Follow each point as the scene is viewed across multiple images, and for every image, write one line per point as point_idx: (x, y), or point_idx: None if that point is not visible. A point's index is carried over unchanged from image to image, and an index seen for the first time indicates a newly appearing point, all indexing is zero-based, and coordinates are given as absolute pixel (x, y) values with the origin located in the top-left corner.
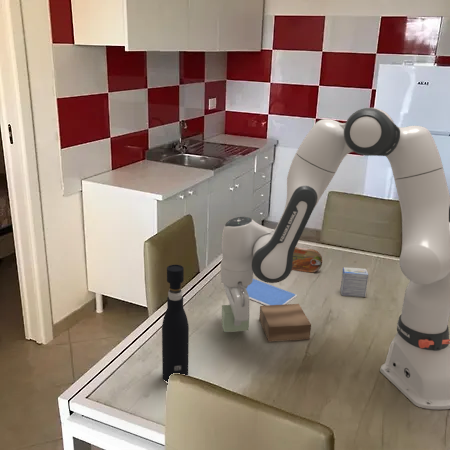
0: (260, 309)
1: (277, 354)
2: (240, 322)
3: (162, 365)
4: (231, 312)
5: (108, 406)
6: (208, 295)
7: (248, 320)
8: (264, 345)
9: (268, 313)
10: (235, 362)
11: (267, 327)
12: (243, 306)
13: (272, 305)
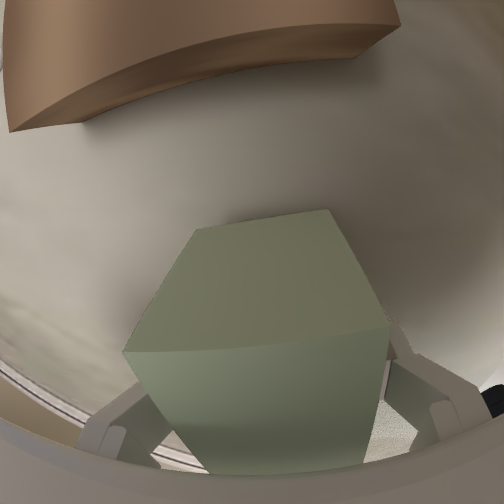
0: (37, 122)
1: (469, 49)
2: (403, 336)
3: None
4: (357, 459)
5: None
6: (11, 347)
7: (354, 255)
8: (400, 94)
9: (111, 28)
10: (500, 269)
11: (310, 40)
12: (396, 470)
13: (6, 40)
